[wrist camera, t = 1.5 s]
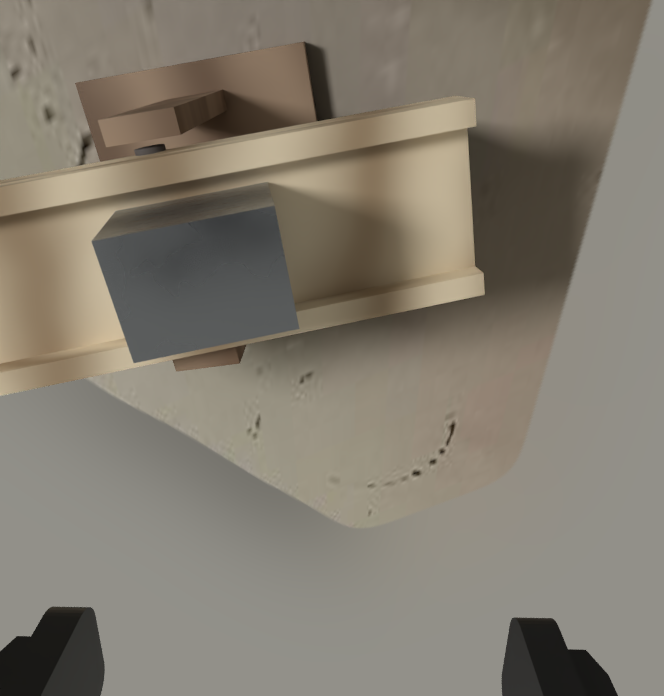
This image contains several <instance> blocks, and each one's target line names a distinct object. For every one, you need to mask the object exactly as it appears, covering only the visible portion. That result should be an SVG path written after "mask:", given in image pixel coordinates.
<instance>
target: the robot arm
mask: <svg viewBox="0 0 664 696" xmlns="http://www.w3.org/2000/svg"><path fill="white" fill-rule="evenodd" d="M103 681H104V660H103V654H102V648H101V644H100V639H99V632H98V628H97V622H96V617H95V613H94V610H93V609H92V608H91V607H87V608H86V607H51V608H49V609H48V610H47V611H46V612H45V614H44V615H43V617H42V619H41V620H40V622H39V624H38V626H37V627H36V629H35V631H34V633H33V634H32V636H31V637H27V636H17V637H16V638H15V639H14V640H12V641H11V642H10V643H9V644H8V645H7V646H6V647H5V648H4V649H3V650H1V651H0V696H100V695H101V691H102V686H103ZM502 695H503V696H618V695H617V693H616V691H615V688H614V687H613V684H612V682H611V680H610V678H609V676H608V674H607V673H606V672H605V671H604V670H603V669H602V667H601V666H600V665H599V664H598V663H597V662H596V661H595V660H594V659H593V658H592V656H591V655H590V654H589V653H588V652H587V651H586V650H568V649H567V646H566V644H565V642H564V639H563V637H562V634H561V632H560V629H559V627H558V625H557V623H556V621H555V620H554V619H552V618H512V620H511V623H510V628H509V634H508V640H507V646H506V653H505V658H504V665H503V671H502Z"/></svg>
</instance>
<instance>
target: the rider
mask: <svg viewBox="0 0 664 696" xmlns="http://www.w3.org/2000/svg"><path fill="white" fill-rule="evenodd" d="M91 242H92V244H93V247H94V250H95V253H96V256H97V259H98V262H99V265H100V268H101V270H102V273H103V276H104V279H105V282H106V285H107V288H108V291H109V294H110V296H111V299H112V302H113V305H114V308H115V311H116V314H117V317H118V320H119V322H120V325H121V328H122V331H123V334H124V337H125V340H126V343H127V346H128V348H129V351H130V354H131V357H132V360H133V363H138V362H142V361H147V360H152V359H157V358H162V357H166V356H171V355H176V354H181V353H186V352H190V351H195V350H200V349H205V348H210V347H214V346H219V345H224V344H229V343H234V342H238V341H243V340H248V339H253V338H258V337H262V336H267V335H272V334H277V333H282V332H286V331H291V330H296V329H299V324H298V319H297V314H296V309H295V304H294V299H293V294H292V289H291V284H290V279H289V274H288V270H287V265H286V260H285V255H284V250H283V245H282V240H281V235H280V230H279V225H278V220H277V215H276V210H275V205H274V202H273V199H272V195H271V192H270V189H269V185H268V182H264V183H259V184H254V185H248V186H243V187H238V188H233V189H228V190H222V191H217V192H212V193H207V194H201V195H196V196H191V197H186V198H181V199H175V200H170V201H165V202H160V203H155V204H149V205H144V206H139V207H134V208H128V209H123V210H118V211H115V212H114V214H113V215H112V216H111V217H110V219H109V220H108V221H107V222H106V224H105V225H104V226H103V227H102V229H101V230H100V231H99V232H98V234H97V235H96V236H95V237H94V239H93V240H92V241H91Z"/></svg>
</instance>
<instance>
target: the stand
mask: <svg viewBox="0 0 664 696" xmlns="http://www.w3.org/2000/svg"><path fill="white" fill-rule="evenodd" d="M75 84H76V87H77V90H78V93H79V97H80V100H81V103H82V106H83V109H84V112H85V115H86V118H87V122H88V125H89V128H90V131H91V134H92V137H93V140H94V143H95V147H96V150H97V153H98V156H99V159H100V162H102V161H107V160H113V159H118V158H124V157H129V156H134V155H135V152H134V150H135V149H138V148H142V147H146V146H151V145H156V144H165V147H166V149H172V148H177V147H183V146H188V145H193V144H199V143H204V142H209V141H215V140H220V139H226V138H231V137H236V136H242V135H247V134H252V133H258V132H263V131H269V130H274V129H279V128H285V127H290V126H295V125H301V124H306V123H312V122H317V121H318V120H317V114H316V108H315V102H314V95H313V89H312V83H311V77H310V70H309V64H308V58H307V52H306V45H305V42H300V43H295V44H289V45H284V46H278V47H272V48H267V49H261V50H256V51H250V52H245V53H239V54H234V55H228V56H222V57H217V58H211V59H206V60H200V61H195V62H189V63H184V64H178V65H172V66H167V67H161V68H156V69H150V70H145V71H139V72H134V73H128V74H122V75H117V76H111V77H106V78H100V79H95V80H89V81H84V82H78V83H75ZM245 347H246V345H241V346H237V347H232V348H227V349H222V350H217V351H213V352H208V353H203V354H198V355H193V356H189V357H184V358H179V359H174V360H173V363H174V366H175V369H176V371H184V370H192V369H199V368H207V367H215V366H223V365H231V364H239V363H240V361H241V358H242V356H243V353H244V350H245Z"/></svg>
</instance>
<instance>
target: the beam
mask: <svg viewBox="0 0 664 696" xmlns="http://www.w3.org/2000/svg"><path fill="white" fill-rule="evenodd" d="M475 126H476V111H475V98H468V97H461V96H451V97H446V98H440V99H435V100H430V101H424V102H419V103H414V104H408V105H403V106H397V107H392V108H387V109H381V110H376V111H371V112H365V113H360V114H354V115H349V116H344V117H338V118H333V119H328V120H322V121H317V122H312V123H306V124H301V125H295V126H290V127H285V128H279V129H274V130H269V131H263V132H258V133H252V134H247V135H242V136H236V137H231V138H226V139H220V140H215V141H209V142H204V143H199V144H193V145H188V146H183V147H177V148H172V149H166V147H165V144H156V145H151V146H146V147H142V148H138V149H135V150H134V152H135V155H134V156H129V157H124V158H118V159H113V160H107V161H102V162H97V163H91V164H86V165H81V166H75V167H70V168H64V169H59V170H54V171H48V172H43V173H38V174H32V175H27V176H21V177H16V178H11V179H5V180H0V396H2V395H7V394H11V393H15V392H20V391H25V390H30V389H35V388H40V387H45V386H50V385H54V384H59V383H64V382H69V381H74V380H78V379H83V378H88V377H93V376H98V375H102V374H107V373H112V372H117V371H122V370H126V369H131V368H136V367H141V366H146V365H150V364H155V363H160V362H165V361H169V360H174V359H179V358H184V357H189V356H193V355H198V354H203V353H208V352H213V351H217V350H222V349H227V348H232V347H237V346H241V345H246V344H251V343H256V342H261V341H265V340H270V339H275V338H280V337H285V336H289V335H294V334H299V333H304V332H308V331H313V330H318V329H323V328H328V327H332V326H337V325H342V324H347V323H352V322H356V321H361V320H366V319H371V318H376V317H380V316H385V315H390V314H395V313H400V312H404V311H409V310H414V309H419V308H424V307H428V306H433V305H438V304H443V303H447V302H452V301H457V300H462V299H467V298H471V297H476V296H481V295H485V290H484V273H483V272H482V271H480V270H479V269H478V268H477V267H476V266H475V254H474V236H473V218H472V200H471V183H470V165H469V147H468V130H467V128H469V127H475ZM264 182H268V185H269V189H270V192H271V195H272V199H273V202H274V205H275V210H276V215H277V220H278V225H279V230H280V235H281V240H282V245H283V250H284V255H285V260H286V265H287V270H288V274H289V279H290V284H291V289H292V294H293V299H294V304H295V309H296V314H297V319H298V324H299V329H296V330H291V331H286V332H282V333H277V334H272V335H267V336H262V337H258V338H253V339H248V340H243V341H238V342H234V343H229V344H224V345H219V346H214V347H210V348H205V349H200V350H195V351H190V352H186V353H181V354H176V355H171V356H166V357H162V358H157V359H152V360H147V361H142V362H138V363H133V360H132V357H131V354H130V351H129V348H128V346H127V343H126V340H125V337H124V334H123V331H122V328H121V325H120V322H119V320H118V317H117V314H116V311H115V308H114V305H113V302H112V299H111V296H110V294H109V291H108V288H107V285H106V282H105V279H104V276H103V273H102V270H101V268H100V265H99V262H98V259H97V256H96V253H95V250H94V247H93V244H92V242H91V241H92V240H93V239H94V237H95V236H96V235H97V234H98V232H99V231H100V230H101V229H102V227H103V226H104V225H105V224H106V222H107V221H108V220H109V219H110V217H111V216H112V215H113V214H114V212H115V211H118V210H123V209H128V208H134V207H139V206H144V205H149V204H155V203H160V202H165V201H170V200H175V199H181V198H186V197H191V196H196V195H201V194H207V193H212V192H217V191H222V190H228V189H233V188H238V187H243V186H248V185H254V184H259V183H264Z"/></svg>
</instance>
